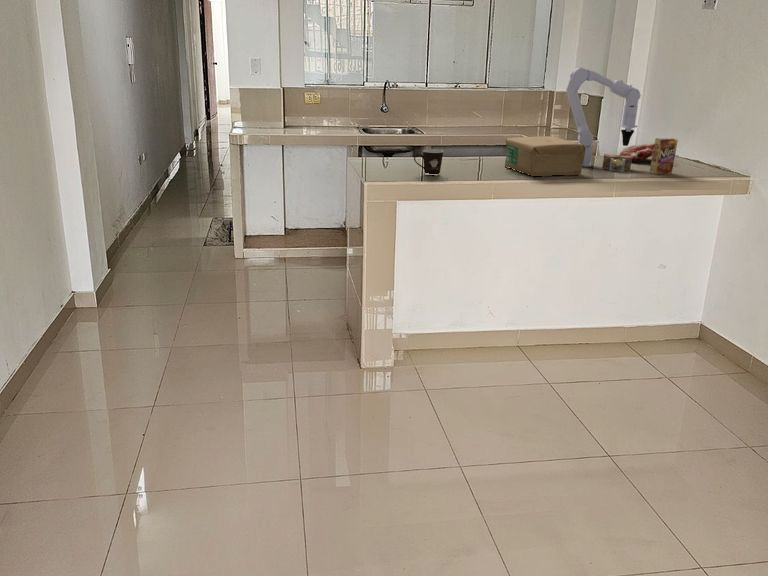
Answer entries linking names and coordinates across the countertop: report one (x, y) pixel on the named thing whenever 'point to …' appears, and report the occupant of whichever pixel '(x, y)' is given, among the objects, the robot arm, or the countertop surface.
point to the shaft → (617, 164)
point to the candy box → (663, 156)
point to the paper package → (544, 156)
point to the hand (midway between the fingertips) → (625, 145)
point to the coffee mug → (431, 161)
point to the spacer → (616, 170)
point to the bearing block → (608, 157)
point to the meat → (639, 151)
